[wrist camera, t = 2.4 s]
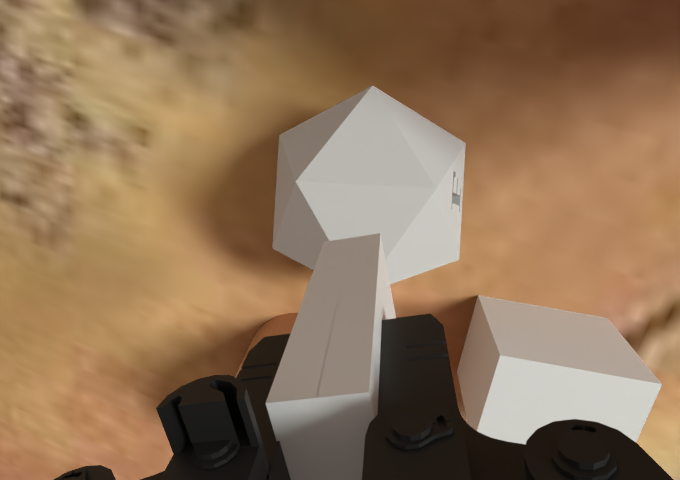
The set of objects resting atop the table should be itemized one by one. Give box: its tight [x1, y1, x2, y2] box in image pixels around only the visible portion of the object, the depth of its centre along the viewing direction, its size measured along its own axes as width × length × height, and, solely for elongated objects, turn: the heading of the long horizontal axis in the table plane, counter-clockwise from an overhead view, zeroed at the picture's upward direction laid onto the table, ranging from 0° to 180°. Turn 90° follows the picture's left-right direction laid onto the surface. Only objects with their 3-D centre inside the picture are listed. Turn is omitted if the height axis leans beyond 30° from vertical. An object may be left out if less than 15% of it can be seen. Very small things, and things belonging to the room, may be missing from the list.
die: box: [272, 85, 466, 284], centre depth 23 cm, size 8×9×10 cm
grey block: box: [457, 295, 662, 444], centre depth 26 cm, size 7×5×6 cm
